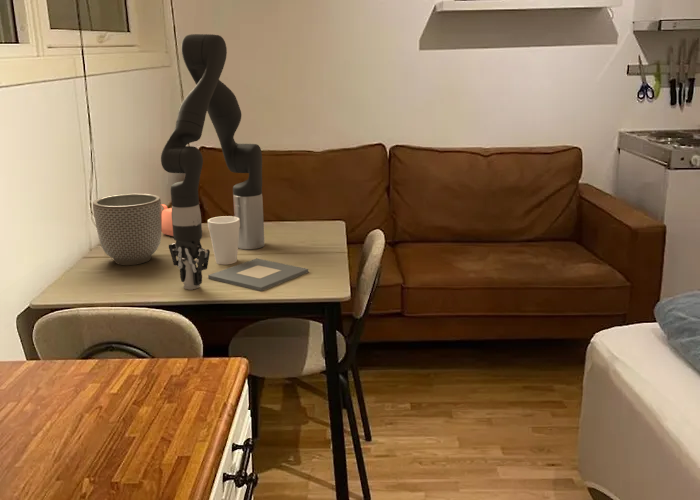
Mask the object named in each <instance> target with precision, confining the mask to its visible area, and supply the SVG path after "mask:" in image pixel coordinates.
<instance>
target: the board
mask: <svg viewBox="0 0 700 500" xmlns="http://www.w3.org/2000/svg"><path fill="white" fill-rule="evenodd" d="M308 273H309V268H306V267H302V266H301V267H300V266H296V265H291V264H286V263H280V262H276V261H271V260H266V259H262V258H257V257H256V258H254V259H251V260H248V261H246V262H243V263H239V264H236V265H234V266H231V267H228V268H224V269H221V270H220V271H216V272H213V273H211V274H208V277H207V278H209V279H208V280H212V279H213V280H212V281H218V282H222V283H225V284H231V285H233V286H234V285H235V286H239V287H242V288H245V289H250V290H253V291H254V290H255V291H259V292H263V291H265V290H268V289H270V288H272V287H275V286H278V285H280V284H282V283H285V282H287V281H290V280H292V279H295V278H297V277H300V276H303V275H305V274H308Z"/></svg>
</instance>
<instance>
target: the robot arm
mask: <svg viewBox="0 0 700 500" xmlns="http://www.w3.org/2000/svg"><path fill="white" fill-rule="evenodd" d="M180 48H181V55H182V59H183V62H184V64H185V66H186V68H187V70H188V72H189V74H190V76H191V77H192V79H193V81H194V83H195V86H194V87H193V88H192V90H190V92H188V94H187V95H186V96H185V97H184V99H183V100H182V102H181V104H180V106H179V110H178V113H177V117H176V121H175V126H174V129H173V131H172V132H171V134H170V135H169V138H168V139H167V141H166V143H165V145H164V147H163V148H162V151H161V153H160V154H161V155H160V162H161V163H160V164H161V166H162V169H163V171H166V173H170V174H184V175H185V176H184V178H183V180H182V181H178V182H174V183H173V184H172V185H171V186H170V200H171V208H172V226H173V236H172V237H173V240H174V241H176V242H174V243H171V244H168V249H169V253H170V256H171V261H172V263H173V266H176V267H177V268H178V269H179V276H180V282H182V283H183V282H184V281H185V278H186V269H185V268H186V265H185V264H184V262H185V259H186V258H187V260H189V263H190V264H191V265H192V269H193V281H194V285H196V286H197V285H200V286H201V284H202V282H203V275H202V271H205V270H207V269H208V267H209V259H210V255H211V253H210V252H211V251H210V249H208V248H207V249H205V248H203V246H202V244H201V239H202V238H203V227H202V226H203V225H202V216H201V215H202V214H201V209H200V198H199V185H200V179H201V178H200V177H201V173H202V169H203V164H204V163H203V162H204V157H203V154H202V151H200V149H199V148H198V147H196V146H191V145H190V146H189V145H188V144H191V143H194V142H198V141H200V139H201V138H202V134H203V130H204V126H205V121H206V117H207V114H208V116H209V120H210V121H211V123H212V126H213V128H214V130H215V133H216V134H217V138H218V141H219V144H220V148H221V151H222V154H223V158H224V161H225V164H226V167H227V169H228V170H229V171H230V173H231V172H232V173H235V174H248V178H247V179H246V180H244V181H243V182H239V183H236V184H235V185H233V186H232V196H233V197H232V198H233V199H232V200H233V212H234V215H233V217H238V218H239V219H240V227H239V239H238V249H240V250H255V249H260V248H263V247H265V244H266V243H265V228H264V227H265V224H264V223H265V221H264V205H263V204H264V203H263V189H262V188H263V154H262V148H261V146H260V145H259V144H257V143H237V142H236V141H235V138H234V137H235V134H236V132H237V130H238V129H239V126H240V124H241V120H242V111H241V107H240V105H239V102H238V99H237V96H236V95H235V93H234V92H233V91H232V90H231V89H230V88H229V87H228V86H227V85H226V84H225V83H224V82H223V81H221V80H220V77H221V75H222V72H223V70H224V67H225V64H226V60H227V53H228V52H227V49H228V48H227V44H226V41H225V39H224V38H223V37H222V35H219V34H211V33H208V34H207V33H206V34H204V33H202V34H201V33H194V34H193V33H191V34H187V35H185V36H184V37H183V38H182V41H181V47H180ZM193 259H194V260H193Z"/></svg>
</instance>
